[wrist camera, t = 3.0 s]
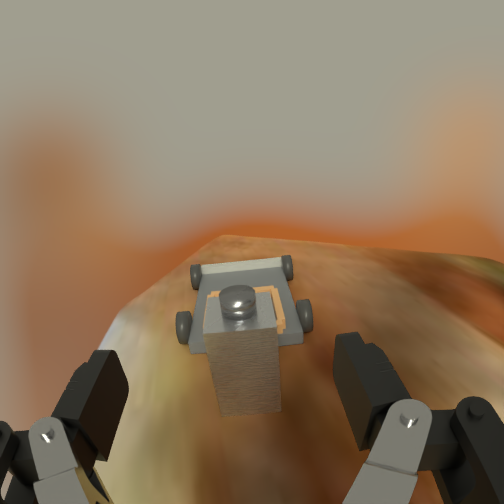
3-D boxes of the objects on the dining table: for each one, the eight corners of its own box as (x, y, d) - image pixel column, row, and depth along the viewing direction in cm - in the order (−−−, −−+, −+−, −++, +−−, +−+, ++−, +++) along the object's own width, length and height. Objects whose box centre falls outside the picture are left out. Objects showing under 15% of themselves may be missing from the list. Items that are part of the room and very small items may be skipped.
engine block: (223, 377, 29) (205, 281, 25) (275, 372, 29) (268, 274, 25) (222, 416, 24) (198, 315, 20) (281, 411, 24) (275, 308, 20)
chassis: (196, 280, 49) (192, 259, 48) (288, 271, 49) (287, 249, 48) (180, 354, 32) (172, 327, 31) (314, 341, 33) (314, 313, 31)
